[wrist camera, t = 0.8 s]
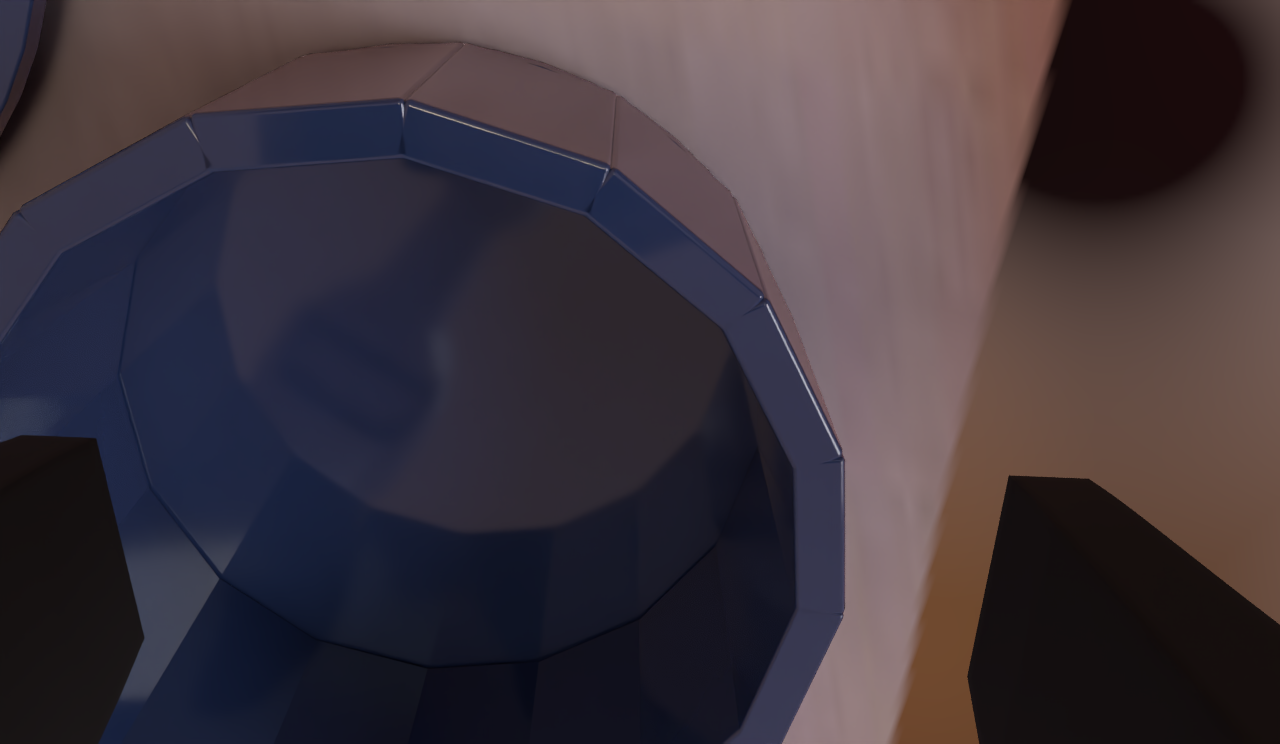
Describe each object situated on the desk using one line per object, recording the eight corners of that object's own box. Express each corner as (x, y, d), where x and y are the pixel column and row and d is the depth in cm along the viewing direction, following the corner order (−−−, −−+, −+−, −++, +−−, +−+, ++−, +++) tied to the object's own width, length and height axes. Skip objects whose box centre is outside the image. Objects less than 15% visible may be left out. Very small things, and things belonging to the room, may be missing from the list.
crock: (56, 583, 22) (-119, 796, 17) (151, -71, 17) (-53, -51, 12) (662, 738, 23) (671, 974, 18) (902, 182, 19) (1002, 292, 13)
